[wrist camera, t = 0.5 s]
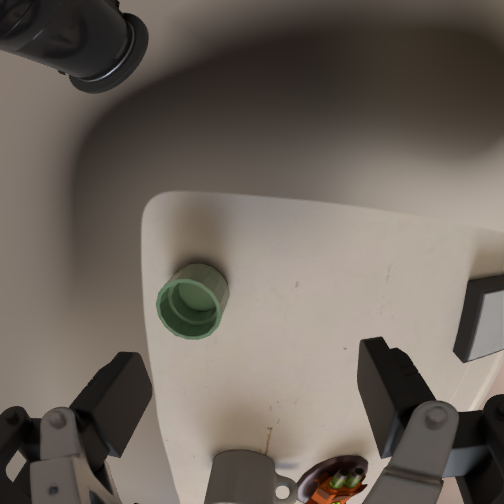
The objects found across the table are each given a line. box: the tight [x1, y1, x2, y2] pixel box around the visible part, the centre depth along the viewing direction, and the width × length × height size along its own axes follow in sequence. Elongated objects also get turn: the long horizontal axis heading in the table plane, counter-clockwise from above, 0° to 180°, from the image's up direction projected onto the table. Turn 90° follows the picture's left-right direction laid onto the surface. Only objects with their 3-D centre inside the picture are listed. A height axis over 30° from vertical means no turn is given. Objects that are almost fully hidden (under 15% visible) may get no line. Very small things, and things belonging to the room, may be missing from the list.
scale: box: [453, 275, 504, 363], centre depth 26 cm, size 10×10×3 cm
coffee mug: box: [204, 450, 298, 504], centre depth 32 cm, size 13×10×10 cm
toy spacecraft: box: [296, 456, 368, 504], centre depth 34 cm, size 12×20×6 cm, turn 173°
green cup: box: [156, 263, 229, 340], centre depth 27 cm, size 6×6×5 cm
